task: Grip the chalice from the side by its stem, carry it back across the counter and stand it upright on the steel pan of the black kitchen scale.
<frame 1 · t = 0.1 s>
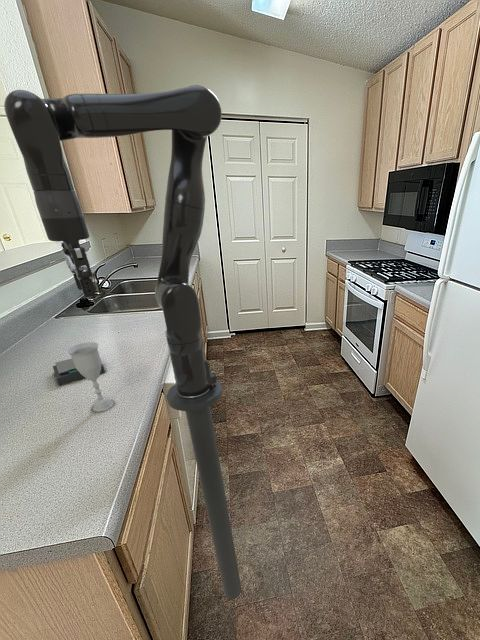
hand: (86, 292, 76), 33 cm above the counter, tool pointing down, fingers open, 8 cm apart
scale: (80, 372, 111), on the counter
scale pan: (76, 363, 110), point 3 cm above the counter, slide at 0.0 cm
chalice: (103, 406, 93), on the counter
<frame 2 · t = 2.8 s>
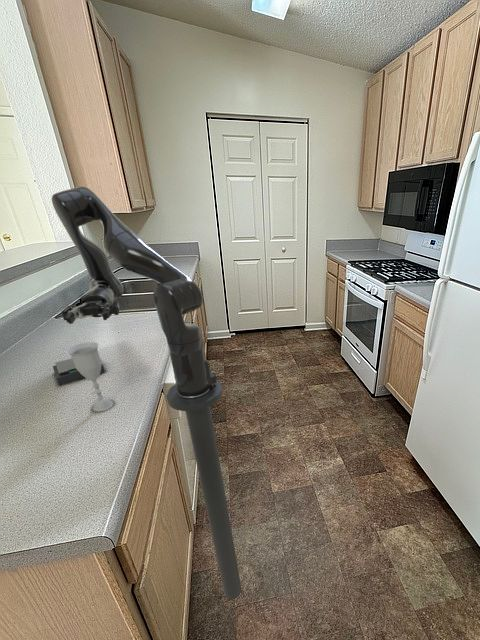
hand: (87, 318, 92), 22 cm above the counter, tool horizontal, fingers open, 8 cm apart
nothing on the counter moved.
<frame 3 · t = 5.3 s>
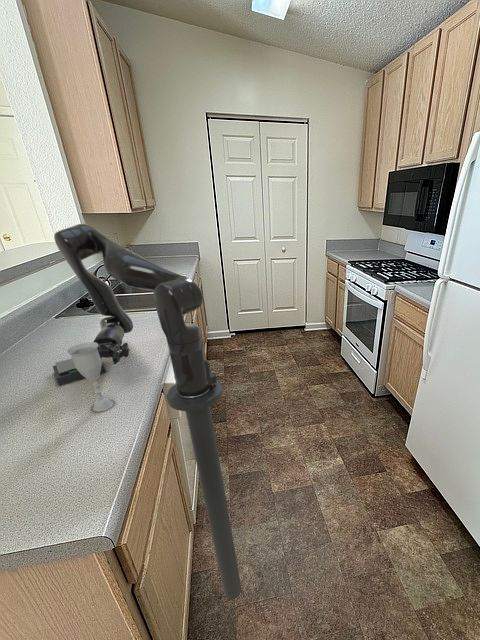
hand: (97, 363, 94), 10 cm above the counter, tool horizontal, fingers open, 8 cm apart
nothing on the counter moved.
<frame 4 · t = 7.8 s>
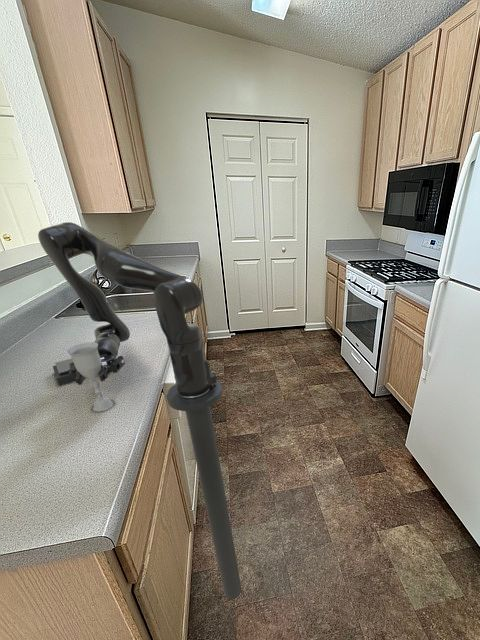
hand: (90, 379, 86), 10 cm above the counter, tool horizontal, fingers closed on chalice, 4 cm apart
chalice: (103, 406, 93), on the counter, touching gripper
everything else where it was.
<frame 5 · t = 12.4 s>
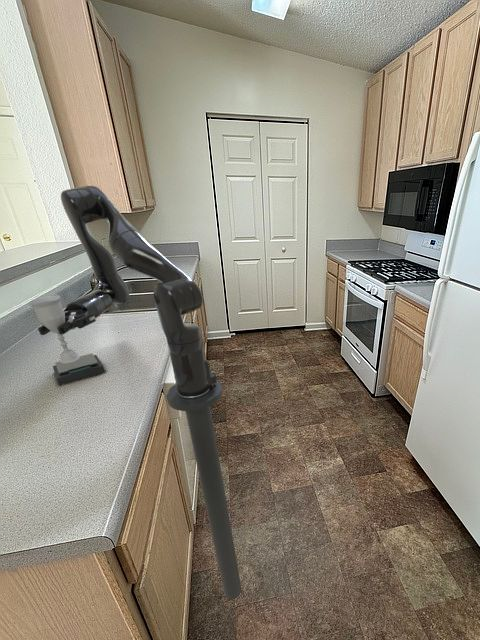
hand: (50, 331, 90), 20 cm above the counter, tool horizontal, fingers closed on chalice, 4 cm apart
chalice: (70, 359, 97), point 10 cm above the counter, touching gripper
everything else where it was.
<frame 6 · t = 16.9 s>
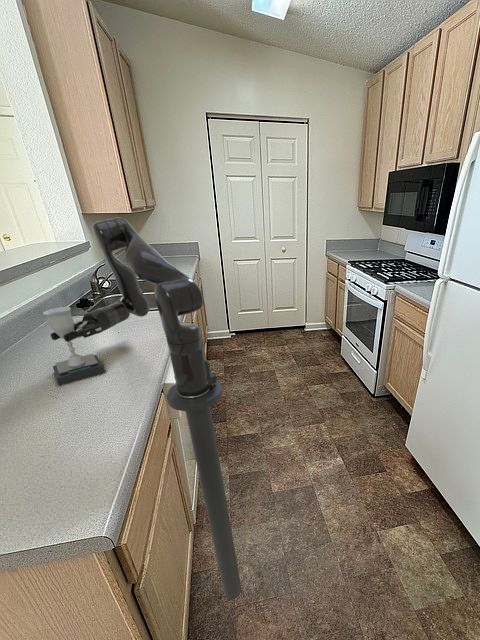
hand: (58, 338, 103), 13 cm above the counter, tool horizontal, fingers closed on chalice, 4 cm apart
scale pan: (76, 363, 110), point 3 cm above the counter, slide at -0.2 cm, touching chalice
chalice: (76, 363, 110), point 3 cm above the counter, touching gripper, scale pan
when the fingers open (13 cm above the counter, at t = 17.0 s): chalice stays where it is, resting on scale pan.
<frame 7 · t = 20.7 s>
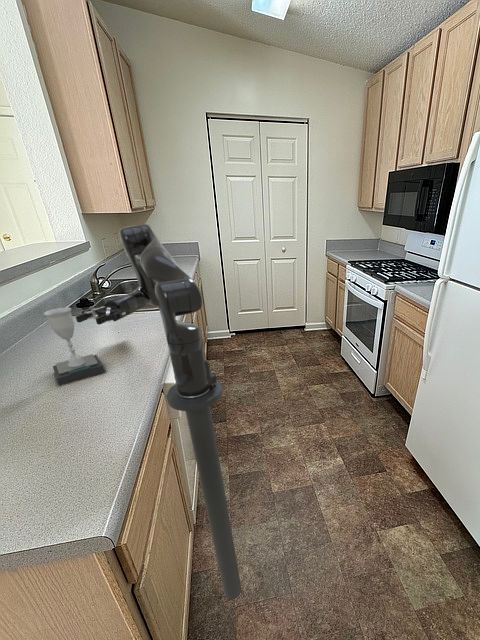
hand: (87, 320, 112), 15 cm above the counter, tool horizontal, fingers open, 8 cm apart
chalice: (77, 363, 110), point 3 cm above the counter, touching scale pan
everything else where it was.
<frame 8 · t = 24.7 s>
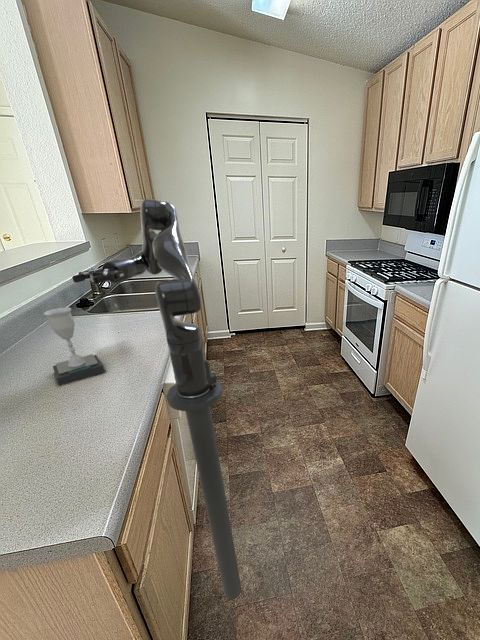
hand: (83, 280, 109), 28 cm above the counter, tool horizontal, fingers open, 8 cm apart
nothing on the counter moved.
at the end: chalice inside the target area on the scale (0.4 cm from its centre), point 3.1 cm above the scale's base; chalice tilted 0°; the gripper is holding nothing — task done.
